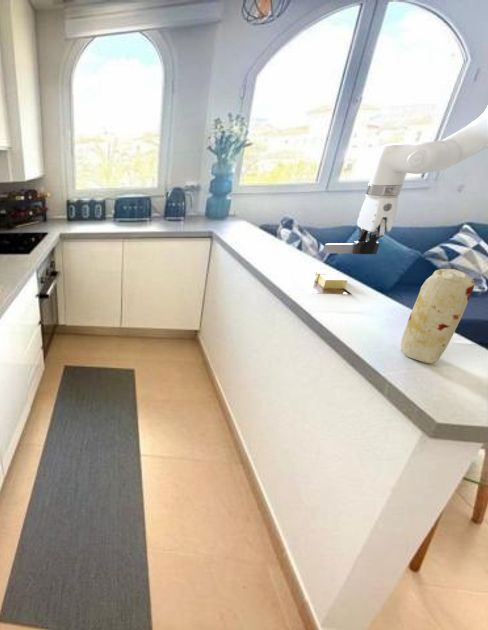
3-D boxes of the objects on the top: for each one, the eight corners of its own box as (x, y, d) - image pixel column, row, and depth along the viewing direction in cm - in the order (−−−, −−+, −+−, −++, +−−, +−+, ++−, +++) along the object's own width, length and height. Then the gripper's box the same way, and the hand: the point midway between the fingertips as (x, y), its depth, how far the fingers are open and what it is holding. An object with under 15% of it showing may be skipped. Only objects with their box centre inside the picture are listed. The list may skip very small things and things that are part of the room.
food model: (449, 369, 73) (493, 281, 65) (410, 365, 75) (447, 279, 67) (423, 345, 81) (459, 265, 73) (388, 343, 84) (419, 264, 75)
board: (335, 281, 120) (336, 276, 120) (357, 298, 106) (359, 294, 106) (290, 280, 124) (291, 276, 123) (306, 297, 110) (307, 293, 109)
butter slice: (334, 280, 117) (336, 271, 116) (336, 282, 116) (339, 273, 114) (314, 279, 119) (316, 271, 118) (316, 281, 117) (318, 273, 116)
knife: (324, 254, 109) (327, 243, 108) (321, 252, 111) (324, 241, 110) (376, 254, 106) (380, 242, 104) (372, 252, 108) (376, 240, 106)
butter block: (338, 283, 115) (340, 274, 113) (345, 288, 110) (347, 280, 109) (317, 282, 116) (319, 274, 115) (323, 288, 112) (326, 279, 110)
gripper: (416, 194, 92) (392, 260, 100) (383, 187, 106) (364, 246, 114) (383, 195, 94) (362, 260, 102) (354, 188, 107) (338, 246, 115)
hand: (363, 252), depth 108 cm, fingers closed on knife, 2 cm apart
